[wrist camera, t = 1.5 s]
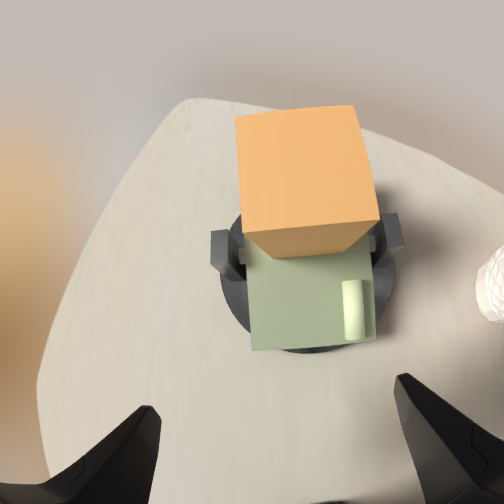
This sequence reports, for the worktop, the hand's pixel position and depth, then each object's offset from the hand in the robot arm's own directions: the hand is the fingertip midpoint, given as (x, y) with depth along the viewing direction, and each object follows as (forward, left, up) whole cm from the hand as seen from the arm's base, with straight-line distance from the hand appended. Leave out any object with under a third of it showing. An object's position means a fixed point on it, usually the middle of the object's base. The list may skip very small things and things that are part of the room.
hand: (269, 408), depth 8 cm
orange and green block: (+9, -3, -10) cm, 13 cm away
